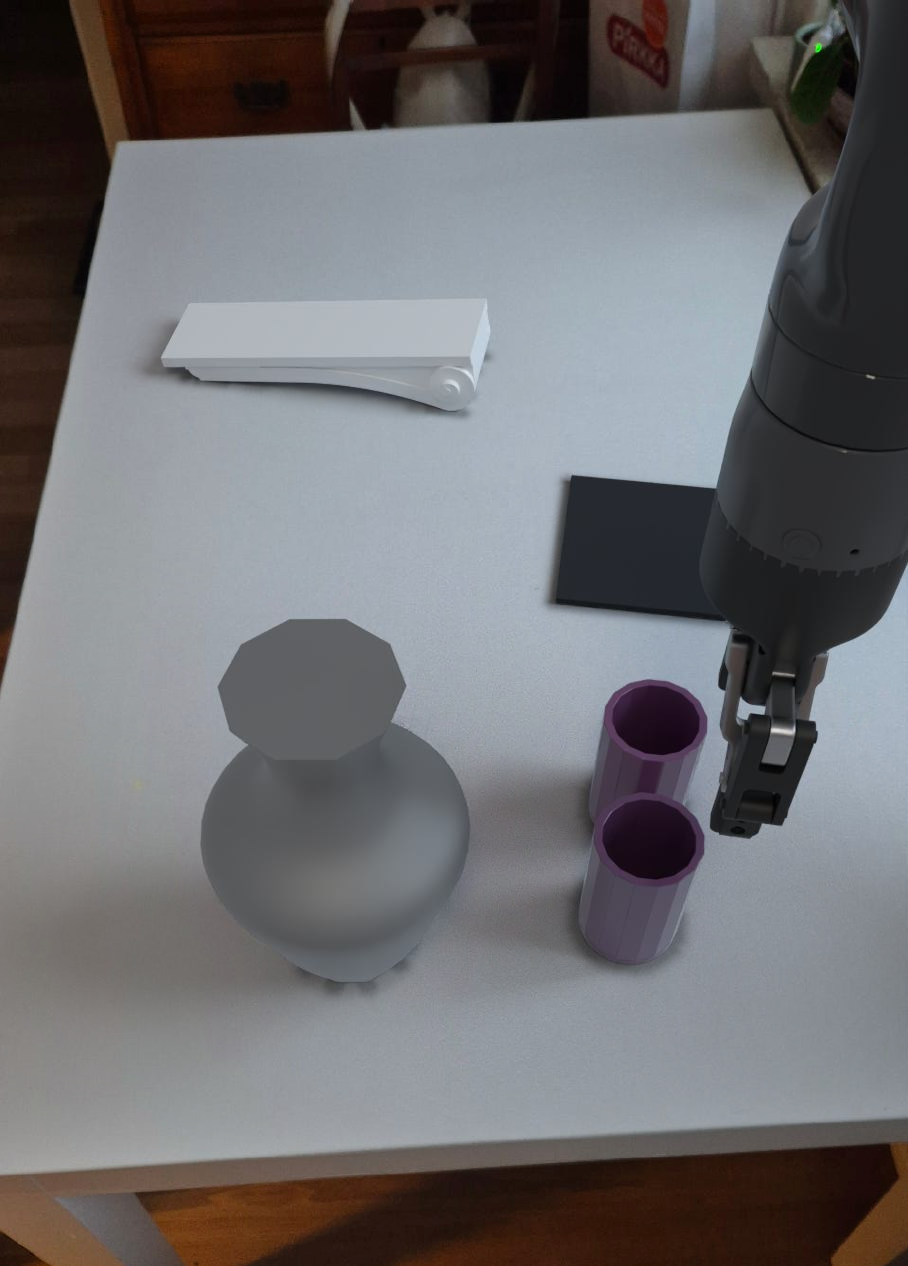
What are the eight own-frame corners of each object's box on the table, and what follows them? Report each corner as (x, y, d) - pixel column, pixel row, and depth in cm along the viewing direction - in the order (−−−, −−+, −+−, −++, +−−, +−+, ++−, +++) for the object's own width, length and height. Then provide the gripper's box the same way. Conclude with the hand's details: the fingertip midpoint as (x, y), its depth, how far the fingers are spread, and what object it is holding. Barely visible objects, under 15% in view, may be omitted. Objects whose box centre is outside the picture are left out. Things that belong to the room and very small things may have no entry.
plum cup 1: (681, 777, 78) (708, 685, 70) (678, 853, 75) (706, 766, 67) (591, 766, 79) (607, 674, 70) (584, 842, 76) (600, 754, 67)
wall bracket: (188, 426, 107) (480, 429, 101) (156, 373, 100) (467, 372, 94) (211, 340, 110) (495, 338, 104) (181, 283, 103) (483, 276, 97)
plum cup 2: (677, 883, 74) (705, 799, 65) (674, 970, 70) (703, 893, 62) (582, 872, 74) (597, 786, 66) (574, 958, 71) (590, 879, 63)
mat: (789, 500, 93) (791, 495, 93) (793, 627, 86) (795, 622, 85) (570, 480, 95) (571, 474, 94) (555, 603, 87) (556, 598, 87)
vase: (228, 1044, 68) (125, 821, 47) (250, 839, 76) (171, 568, 55) (469, 1043, 68) (475, 819, 47) (467, 838, 76) (471, 567, 55)
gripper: (941, 650, 37) (815, 893, 51) (918, 379, 45) (814, 653, 58) (708, 622, 38) (645, 869, 51) (726, 361, 46) (667, 636, 59)
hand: (735, 754), depth 55 cm, fingers open, 8 cm apart
